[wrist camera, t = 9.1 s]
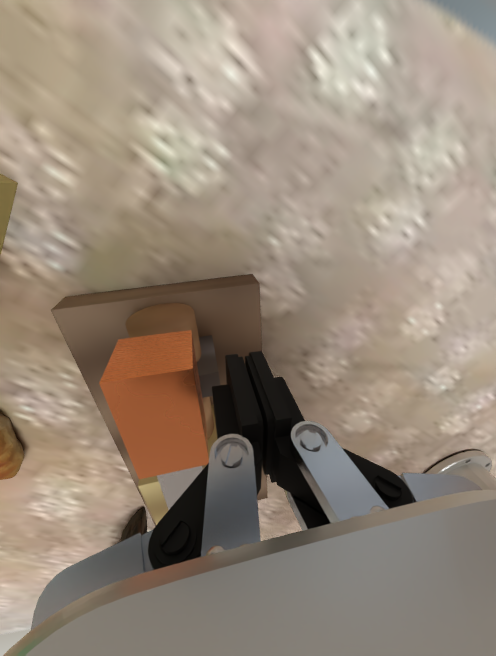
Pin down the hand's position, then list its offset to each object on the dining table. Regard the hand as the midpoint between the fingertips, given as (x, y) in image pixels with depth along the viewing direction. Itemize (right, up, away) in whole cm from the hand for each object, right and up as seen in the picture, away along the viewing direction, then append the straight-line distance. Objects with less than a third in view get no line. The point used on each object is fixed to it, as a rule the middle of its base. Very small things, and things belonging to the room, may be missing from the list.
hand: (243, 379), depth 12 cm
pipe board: (-5, -6, +11) cm, 13 cm away
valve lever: (-3, -4, +2) cm, 5 cm away
